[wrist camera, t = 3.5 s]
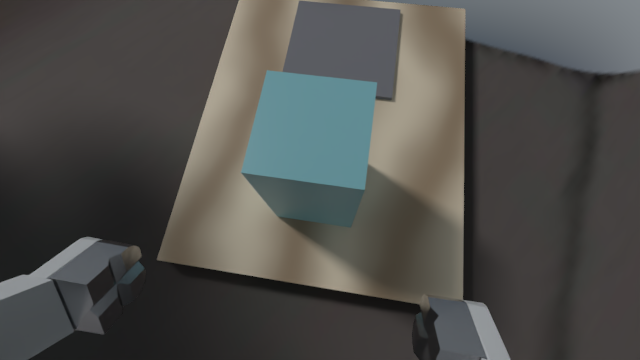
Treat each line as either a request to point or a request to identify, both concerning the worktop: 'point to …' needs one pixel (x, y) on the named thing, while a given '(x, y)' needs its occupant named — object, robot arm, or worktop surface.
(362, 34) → the pad
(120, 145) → the worktop surface
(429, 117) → the post board
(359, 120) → the teal pillar
